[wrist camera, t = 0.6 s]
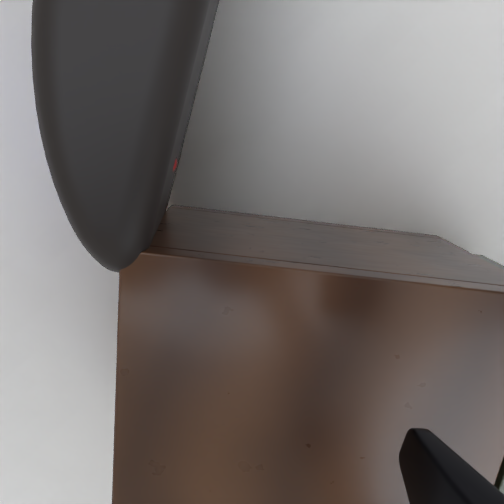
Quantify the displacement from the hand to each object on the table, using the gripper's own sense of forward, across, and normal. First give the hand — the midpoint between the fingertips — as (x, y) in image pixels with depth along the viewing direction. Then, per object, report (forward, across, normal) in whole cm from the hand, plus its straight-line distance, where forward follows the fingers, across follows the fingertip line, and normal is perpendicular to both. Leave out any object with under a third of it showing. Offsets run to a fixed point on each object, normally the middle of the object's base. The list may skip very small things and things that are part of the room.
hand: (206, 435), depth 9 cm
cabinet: (+13, -5, +6) cm, 15 cm away
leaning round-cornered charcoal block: (+16, +2, -7) cm, 17 cm away
